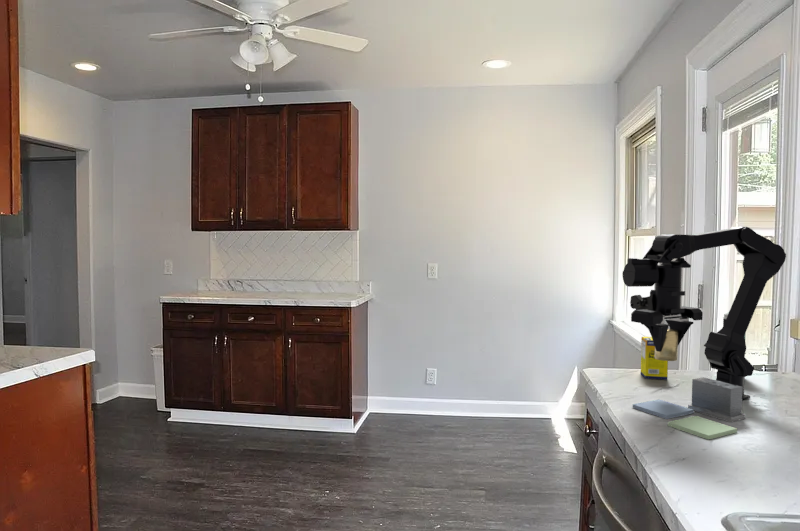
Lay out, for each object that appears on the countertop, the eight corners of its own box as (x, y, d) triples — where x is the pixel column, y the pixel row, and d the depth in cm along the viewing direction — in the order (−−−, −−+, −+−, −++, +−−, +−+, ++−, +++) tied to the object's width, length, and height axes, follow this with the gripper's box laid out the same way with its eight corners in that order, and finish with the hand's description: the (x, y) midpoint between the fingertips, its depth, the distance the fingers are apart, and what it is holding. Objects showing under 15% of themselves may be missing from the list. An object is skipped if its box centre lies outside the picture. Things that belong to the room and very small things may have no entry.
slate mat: (659, 402, 134) (659, 399, 134) (693, 413, 126) (693, 409, 126) (632, 407, 130) (632, 404, 130) (666, 419, 122) (666, 415, 122)
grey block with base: (702, 406, 131) (703, 376, 130) (745, 418, 122) (746, 386, 122) (688, 409, 129) (688, 379, 128) (730, 422, 120) (731, 389, 119)
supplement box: (668, 380, 155) (669, 340, 154) (644, 378, 156) (645, 340, 155) (662, 374, 161) (663, 337, 160) (640, 373, 162) (641, 336, 161)
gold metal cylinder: (663, 355, 140) (664, 328, 139) (681, 359, 135) (682, 331, 135) (650, 357, 137) (650, 329, 137) (667, 361, 133) (668, 332, 133)
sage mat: (695, 419, 121) (696, 415, 121) (737, 432, 113) (737, 428, 113) (667, 425, 117) (668, 421, 117) (708, 439, 109) (708, 435, 109)
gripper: (665, 282, 147) (663, 341, 148) (613, 285, 138) (612, 347, 139) (704, 286, 137) (702, 349, 138) (652, 289, 128) (650, 356, 129)
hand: (666, 350), depth 136 cm, fingers closed on gold metal cylinder, 5 cm apart
